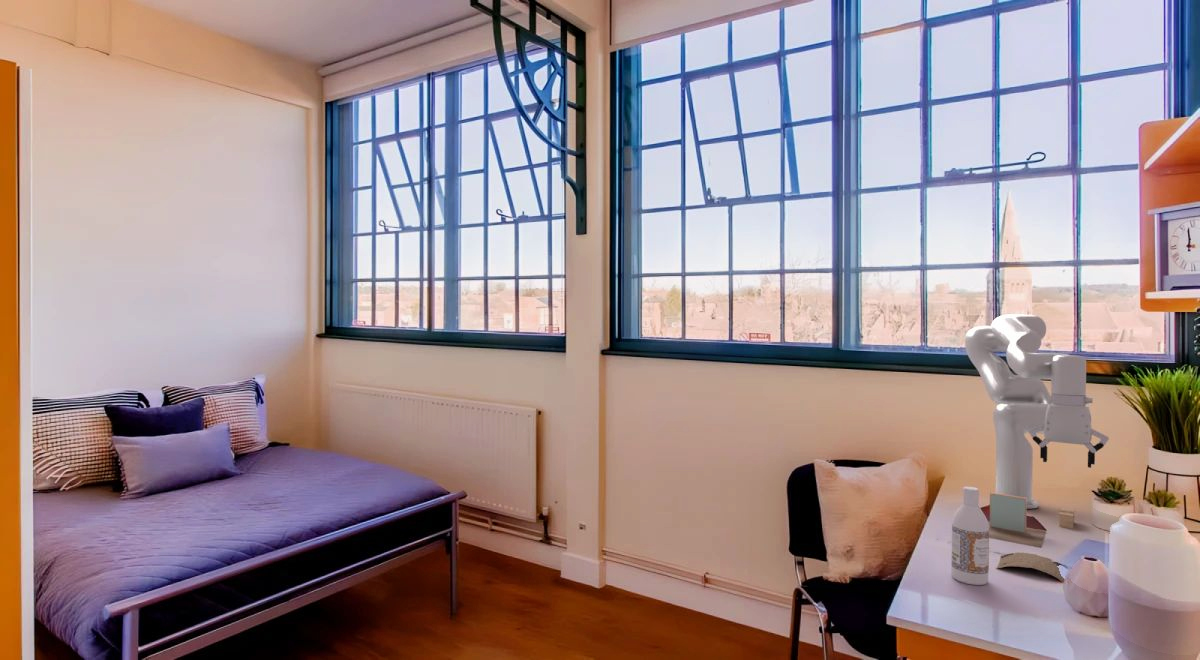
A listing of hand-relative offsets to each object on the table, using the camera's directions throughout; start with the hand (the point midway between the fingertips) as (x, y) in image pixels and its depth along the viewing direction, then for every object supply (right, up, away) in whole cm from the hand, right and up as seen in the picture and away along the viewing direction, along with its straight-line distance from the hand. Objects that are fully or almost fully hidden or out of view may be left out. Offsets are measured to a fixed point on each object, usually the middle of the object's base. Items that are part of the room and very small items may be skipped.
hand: (1066, 464), depth 168 cm
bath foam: (-46, -18, -32) cm, 59 cm away
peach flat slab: (-18, -17, -3) cm, 25 cm away
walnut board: (-19, -18, -6) cm, 27 cm away
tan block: (-1, -18, -1) cm, 18 cm away
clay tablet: (-28, -19, -26) cm, 43 cm away
